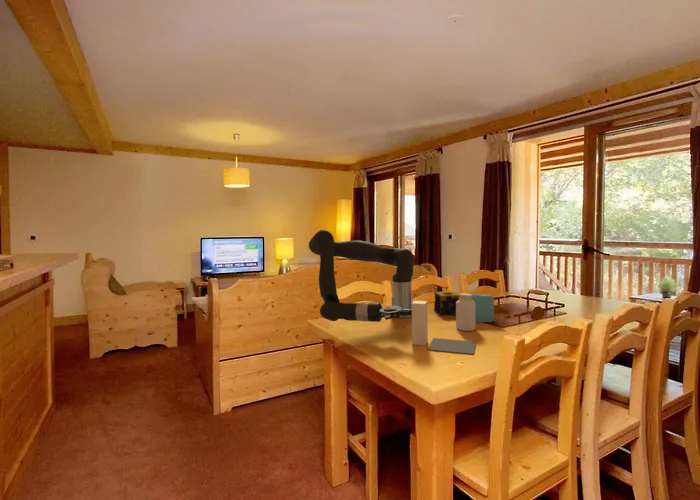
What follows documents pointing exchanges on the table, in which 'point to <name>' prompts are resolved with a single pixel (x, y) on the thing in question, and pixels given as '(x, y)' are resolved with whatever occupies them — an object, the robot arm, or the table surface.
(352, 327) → the table surface
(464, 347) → the mat
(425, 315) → the cream pillar
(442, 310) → the black and yellow cube
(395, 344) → the table surface
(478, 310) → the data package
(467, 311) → the pill bottle
